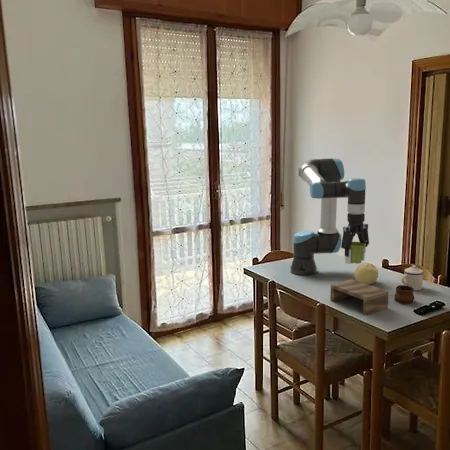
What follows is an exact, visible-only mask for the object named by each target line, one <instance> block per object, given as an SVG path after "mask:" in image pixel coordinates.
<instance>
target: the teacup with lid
mask: <svg viewBox="0 0 450 450" xmlns="http://www.w3.org/2000/svg"><path fill="white" fill-rule="evenodd" d="M403 272H404V274H403V276H402V277H401V284H402V285H403V286H404V285H405V286H410V287H412V288H413V289H414V291H420V290H422V289H423V279H424V278H423V277H424V270H423V269H420V268H418V267H417V266H416V265H415V264H413V265H411V267H407V268H404V271H403Z"/></svg>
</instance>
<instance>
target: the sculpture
mask: <svg viewBox="0 0 450 450" xmlns="http://www.w3.org/2000/svg"><path fill="white" fill-rule="evenodd" d="M354 270H355V271H354V278H355V280H356V281H359V282H362V283H365V284H368V285H373V284H374V283H376V282H377V281H378V278H379V274H380V273H379V269H378V268H377V266H376V265H374V264H373V263H369V262H364V263H360V264H359V265H358V266H356V268H355V269H354Z"/></svg>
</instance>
